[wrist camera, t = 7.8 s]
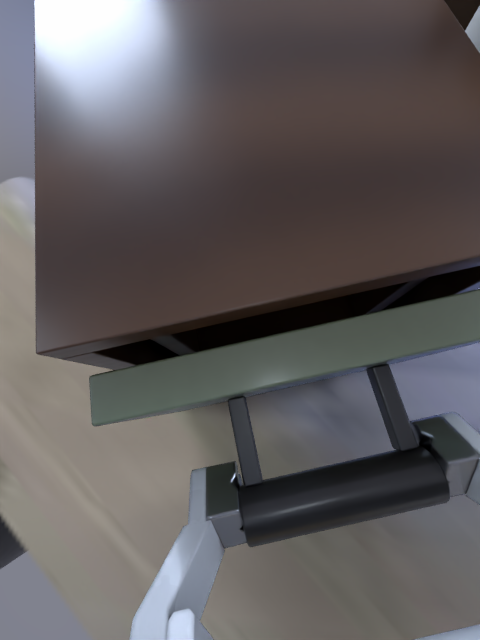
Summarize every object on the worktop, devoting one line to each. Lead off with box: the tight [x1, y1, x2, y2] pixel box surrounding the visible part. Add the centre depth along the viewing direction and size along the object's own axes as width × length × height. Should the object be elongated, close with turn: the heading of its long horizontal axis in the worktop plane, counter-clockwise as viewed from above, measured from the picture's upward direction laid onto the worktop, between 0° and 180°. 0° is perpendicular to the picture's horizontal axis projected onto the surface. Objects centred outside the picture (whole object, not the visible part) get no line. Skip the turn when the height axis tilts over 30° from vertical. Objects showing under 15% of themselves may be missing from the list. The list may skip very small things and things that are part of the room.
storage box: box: [34, 0, 480, 370], centre depth 13 cm, size 15×13×11 cm
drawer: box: [89, 277, 480, 547], centre depth 12 cm, size 18×11×9 cm, turn 12°
